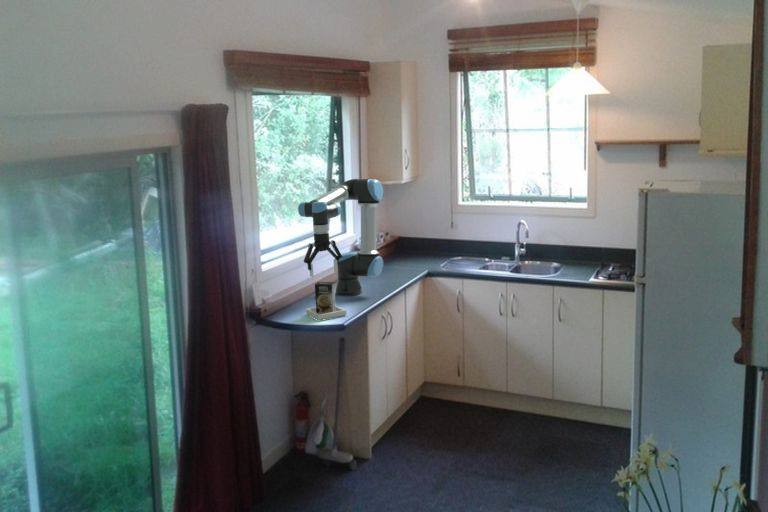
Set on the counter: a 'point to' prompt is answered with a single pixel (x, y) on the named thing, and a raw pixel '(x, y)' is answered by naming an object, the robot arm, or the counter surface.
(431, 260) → the counter surface
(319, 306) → the coffee box
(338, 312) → the tray
